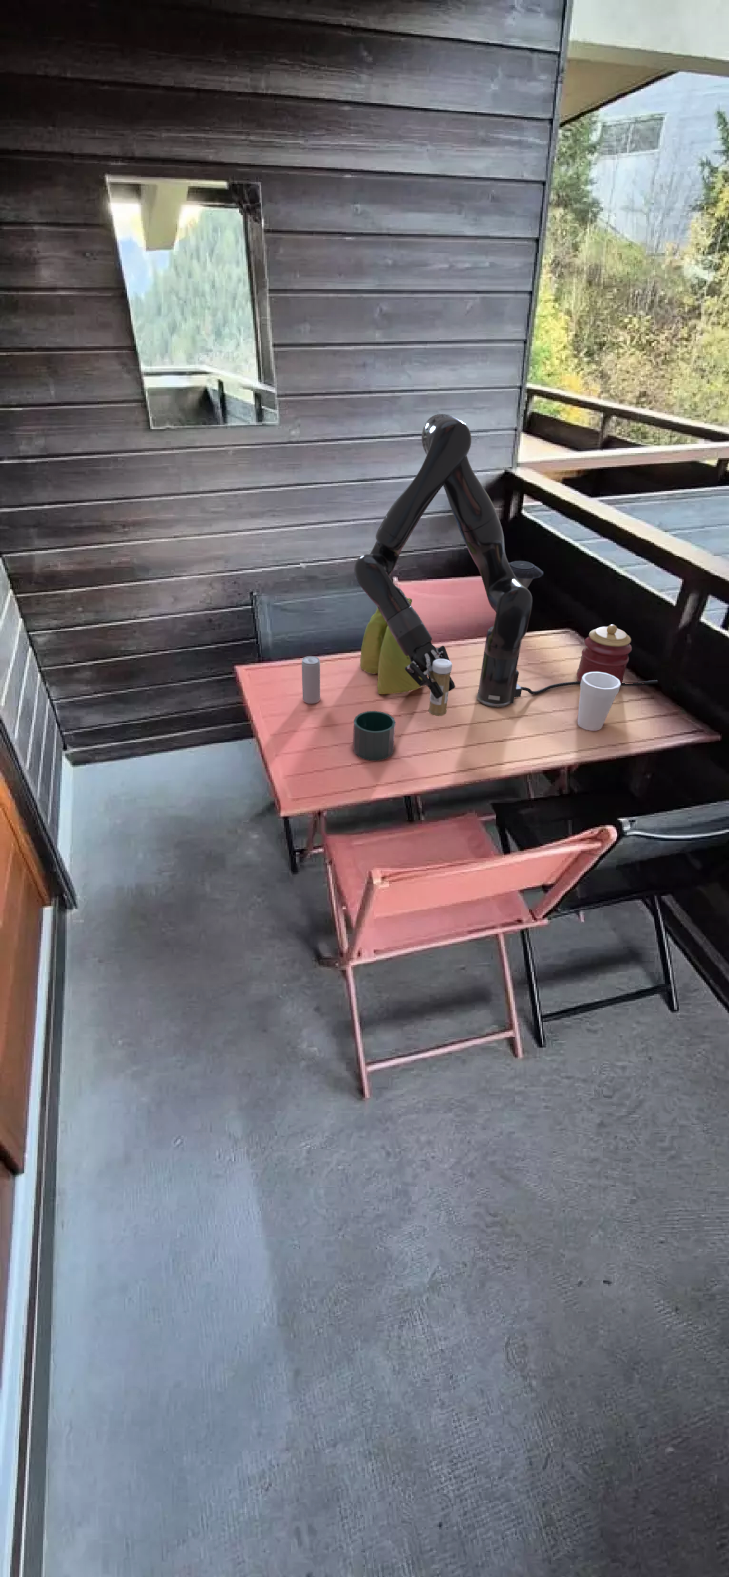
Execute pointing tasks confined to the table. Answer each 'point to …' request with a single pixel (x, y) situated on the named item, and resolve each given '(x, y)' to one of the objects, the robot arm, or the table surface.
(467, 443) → the robot arm
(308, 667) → the beverage can
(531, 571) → the solar garden light
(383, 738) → the cup
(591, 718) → the foam cup
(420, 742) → the table surface
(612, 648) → the kitchen canister
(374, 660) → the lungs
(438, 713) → the sprinkles bottle
